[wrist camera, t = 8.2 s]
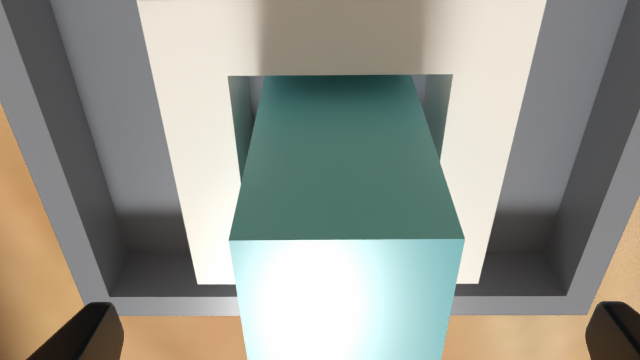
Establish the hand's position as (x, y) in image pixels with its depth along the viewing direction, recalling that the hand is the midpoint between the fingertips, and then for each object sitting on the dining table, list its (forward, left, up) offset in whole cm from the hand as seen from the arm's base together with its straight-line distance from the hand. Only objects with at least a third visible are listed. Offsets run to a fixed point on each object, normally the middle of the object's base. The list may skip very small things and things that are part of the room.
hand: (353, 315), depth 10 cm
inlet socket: (0, 0, -8) cm, 9 cm away
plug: (0, 0, -8) cm, 8 cm away
